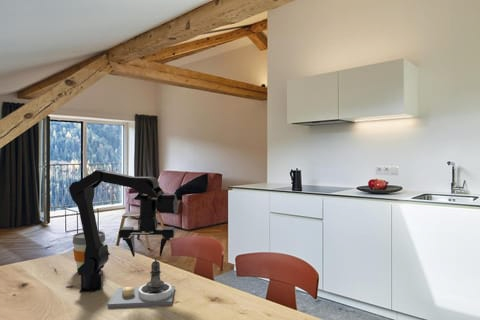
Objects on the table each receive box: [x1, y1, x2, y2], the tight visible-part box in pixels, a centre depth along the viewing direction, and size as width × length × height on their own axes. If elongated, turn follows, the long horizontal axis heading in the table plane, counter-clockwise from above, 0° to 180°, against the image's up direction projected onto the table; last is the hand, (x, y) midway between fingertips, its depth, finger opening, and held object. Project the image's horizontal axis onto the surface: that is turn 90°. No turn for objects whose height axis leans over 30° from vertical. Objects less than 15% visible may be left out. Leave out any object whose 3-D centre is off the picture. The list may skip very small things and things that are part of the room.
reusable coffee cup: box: [72, 230, 106, 273], centre depth 142 cm, size 13×13×15 cm
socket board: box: [107, 281, 176, 309], centre depth 115 cm, size 20×13×3 cm, turn 97°
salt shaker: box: [146, 258, 165, 294], centre depth 116 cm, size 6×6×12 cm
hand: (147, 256), depth 120 cm, fingers open, 9 cm apart
